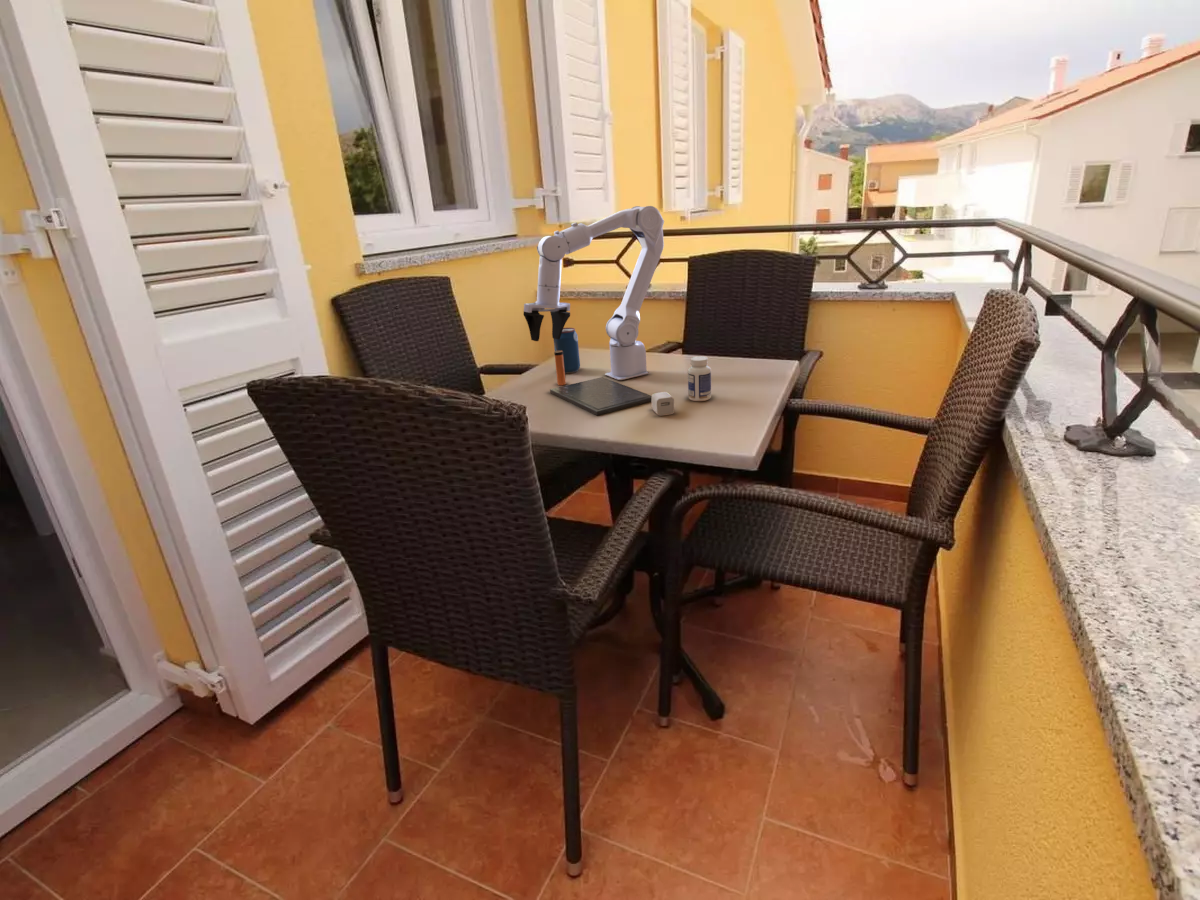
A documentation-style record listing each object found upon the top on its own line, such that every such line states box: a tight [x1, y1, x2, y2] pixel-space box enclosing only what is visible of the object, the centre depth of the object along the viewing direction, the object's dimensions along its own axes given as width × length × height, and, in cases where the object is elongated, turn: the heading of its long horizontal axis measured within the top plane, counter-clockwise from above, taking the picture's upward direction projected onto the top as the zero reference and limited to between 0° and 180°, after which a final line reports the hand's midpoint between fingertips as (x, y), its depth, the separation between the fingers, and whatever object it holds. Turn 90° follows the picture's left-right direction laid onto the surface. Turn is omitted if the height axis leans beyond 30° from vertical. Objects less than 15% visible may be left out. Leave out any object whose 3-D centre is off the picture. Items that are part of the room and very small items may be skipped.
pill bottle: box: [687, 355, 712, 402], centre depth 147 cm, size 5×5×10 cm
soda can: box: [552, 327, 581, 374], centre depth 179 cm, size 7×7×12 cm
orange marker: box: [553, 350, 567, 386], centre depth 167 cm, size 2×2×9 cm
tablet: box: [549, 376, 652, 416], centre depth 156 cm, size 16×24×1 cm, turn 31°
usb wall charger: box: [651, 391, 675, 417], centre depth 142 cm, size 4×7×4 cm, turn 11°
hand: (545, 339), depth 162 cm, fingers open, 7 cm apart
